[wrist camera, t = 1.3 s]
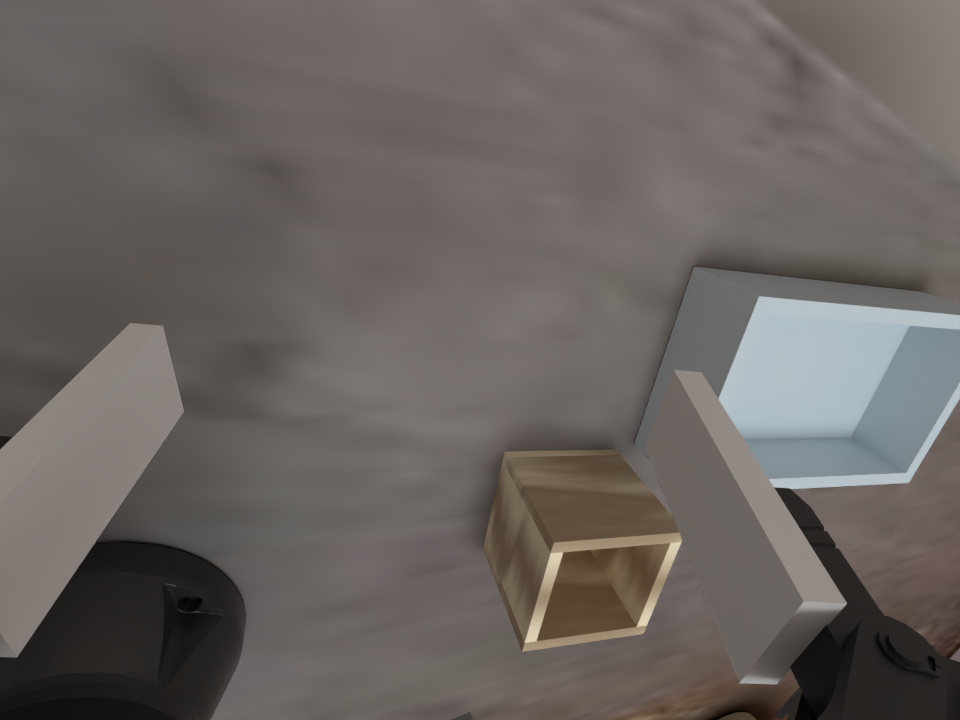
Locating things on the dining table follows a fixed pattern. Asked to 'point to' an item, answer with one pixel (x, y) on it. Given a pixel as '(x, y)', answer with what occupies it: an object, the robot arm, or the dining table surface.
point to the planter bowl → (738, 716)
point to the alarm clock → (464, 717)
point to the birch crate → (577, 546)
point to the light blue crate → (819, 373)
